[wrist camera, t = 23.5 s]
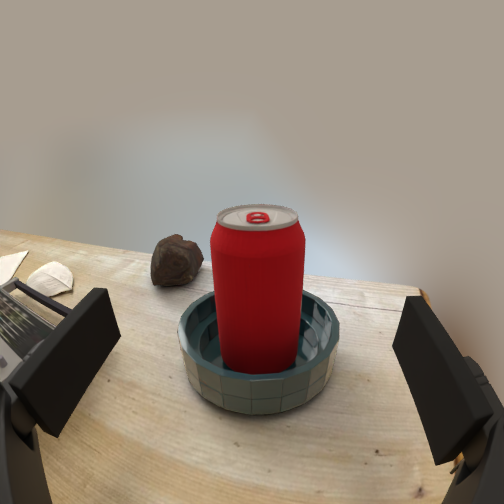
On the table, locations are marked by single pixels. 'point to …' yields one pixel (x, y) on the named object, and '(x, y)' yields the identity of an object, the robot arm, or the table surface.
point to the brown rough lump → (175, 261)
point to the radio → (22, 325)
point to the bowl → (258, 385)
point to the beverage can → (258, 286)
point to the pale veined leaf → (51, 279)
